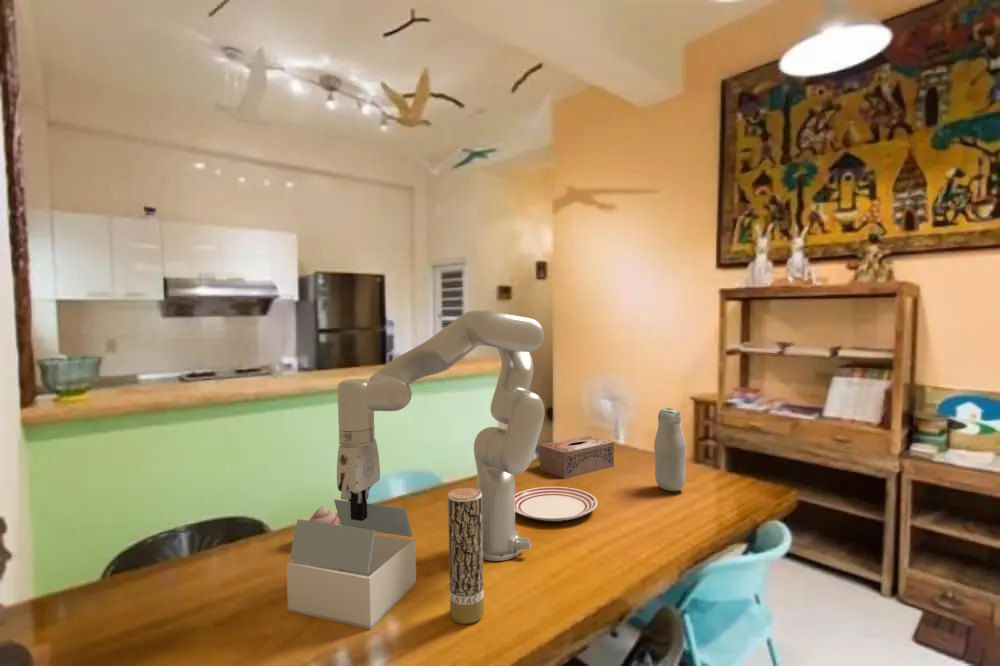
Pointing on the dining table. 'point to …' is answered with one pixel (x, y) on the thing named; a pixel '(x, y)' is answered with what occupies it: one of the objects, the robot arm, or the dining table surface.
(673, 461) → the glass bottle
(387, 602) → the carton
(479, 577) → the paper tube
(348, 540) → the flap near
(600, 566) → the dining table surface
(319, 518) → the cupcake
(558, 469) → the tissue box cover
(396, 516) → the flap far
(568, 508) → the dinner plate
